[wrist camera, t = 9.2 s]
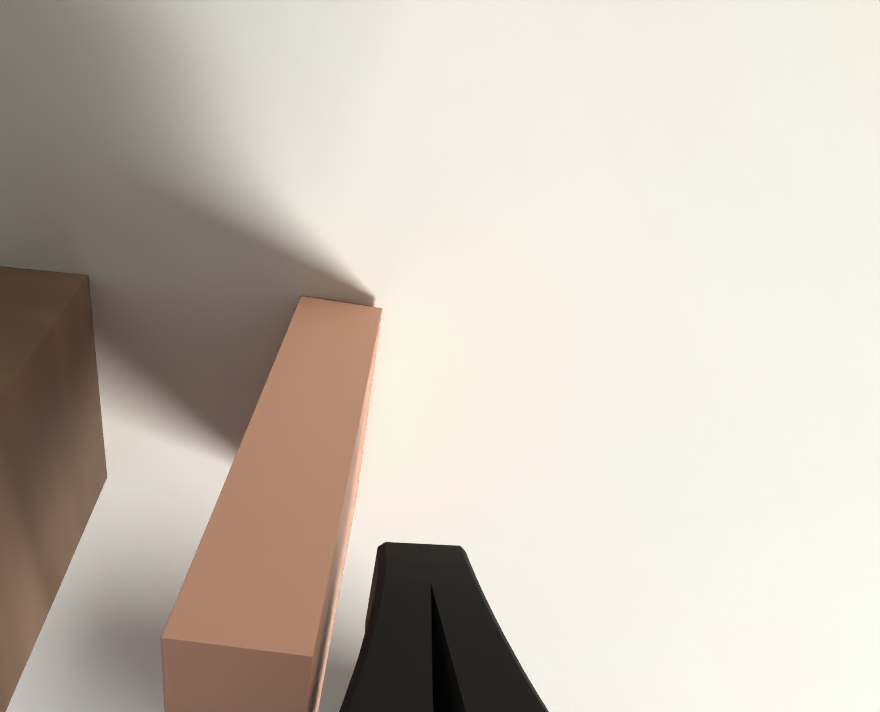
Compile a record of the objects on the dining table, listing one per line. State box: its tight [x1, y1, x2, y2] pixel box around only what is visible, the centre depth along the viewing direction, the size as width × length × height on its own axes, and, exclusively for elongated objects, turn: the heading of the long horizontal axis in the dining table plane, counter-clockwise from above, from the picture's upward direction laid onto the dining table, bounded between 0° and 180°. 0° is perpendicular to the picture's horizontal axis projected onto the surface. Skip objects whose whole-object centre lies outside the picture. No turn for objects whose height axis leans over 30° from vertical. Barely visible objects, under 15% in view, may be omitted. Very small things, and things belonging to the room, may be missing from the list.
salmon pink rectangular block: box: [161, 296, 382, 712], centre depth 13 cm, size 2×5×8 cm, turn 171°
